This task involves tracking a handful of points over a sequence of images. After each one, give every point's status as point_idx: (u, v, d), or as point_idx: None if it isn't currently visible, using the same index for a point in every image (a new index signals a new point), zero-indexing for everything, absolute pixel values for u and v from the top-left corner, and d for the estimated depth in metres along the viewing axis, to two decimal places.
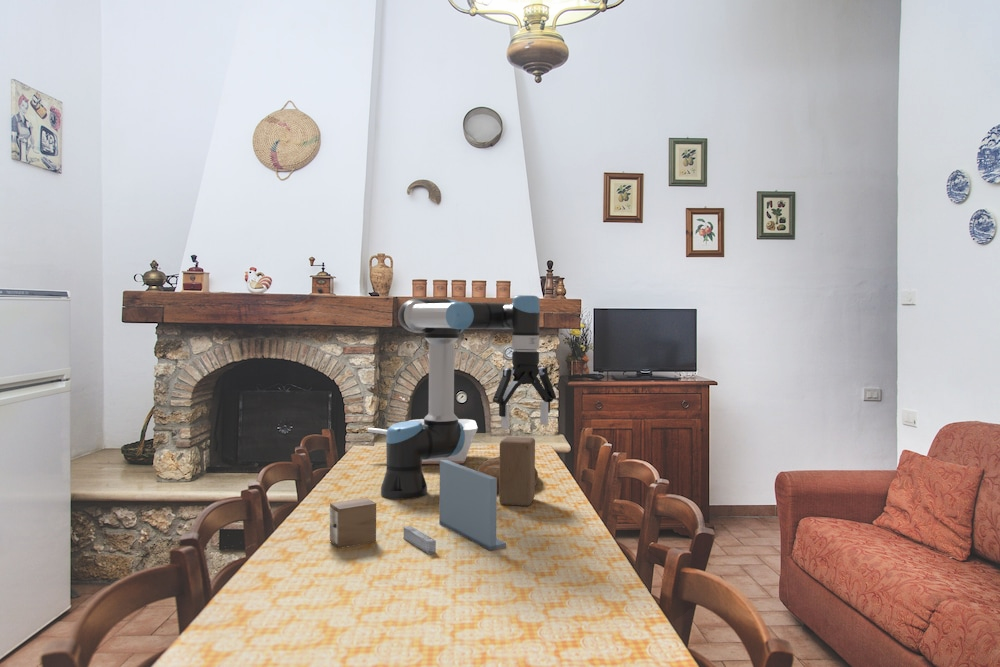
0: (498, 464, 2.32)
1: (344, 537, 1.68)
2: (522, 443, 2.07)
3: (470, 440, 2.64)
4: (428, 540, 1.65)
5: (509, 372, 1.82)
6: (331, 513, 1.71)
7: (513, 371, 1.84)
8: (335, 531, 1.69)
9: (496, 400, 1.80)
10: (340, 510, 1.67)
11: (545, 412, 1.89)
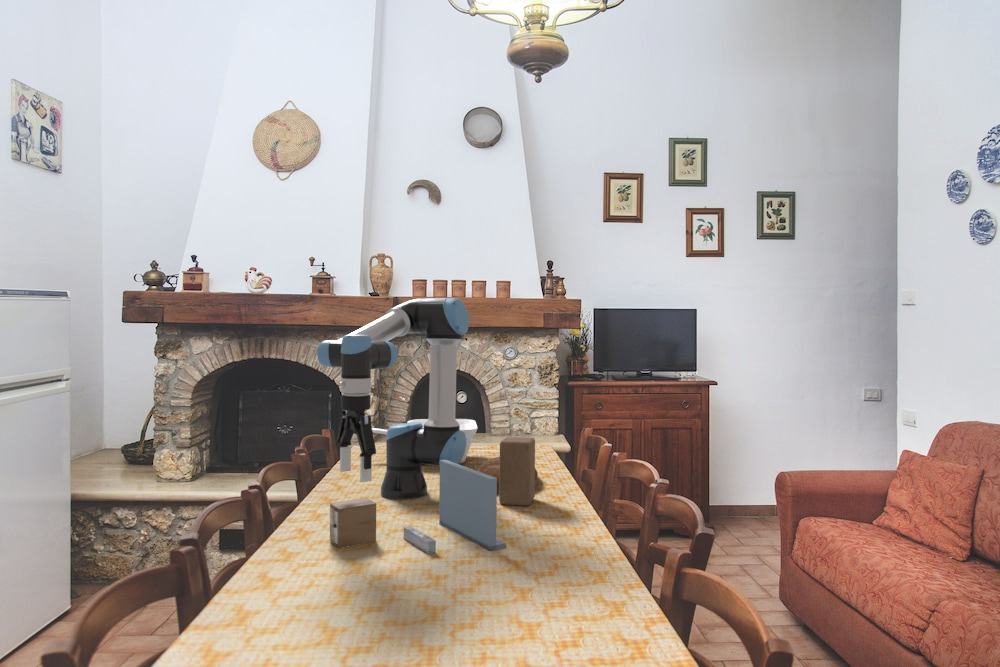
0: (498, 464, 2.32)
1: (344, 537, 1.68)
2: (522, 443, 2.07)
3: (470, 440, 2.64)
4: (428, 540, 1.65)
5: (341, 414, 1.77)
6: (331, 513, 1.71)
7: None
8: (335, 531, 1.69)
9: None
10: (340, 510, 1.67)
11: None
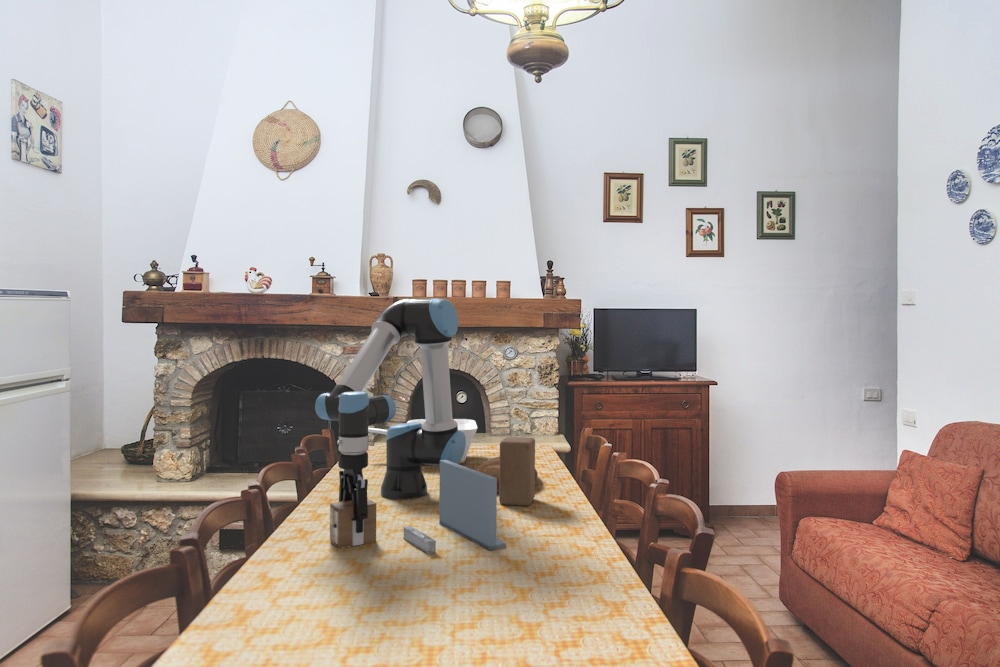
0: (498, 464, 2.32)
1: (345, 537, 1.68)
2: (522, 443, 2.07)
3: (470, 440, 2.64)
4: (428, 540, 1.65)
5: (339, 474, 1.77)
6: (331, 513, 1.71)
7: None
8: (335, 531, 1.69)
9: None
10: (340, 510, 1.67)
11: None
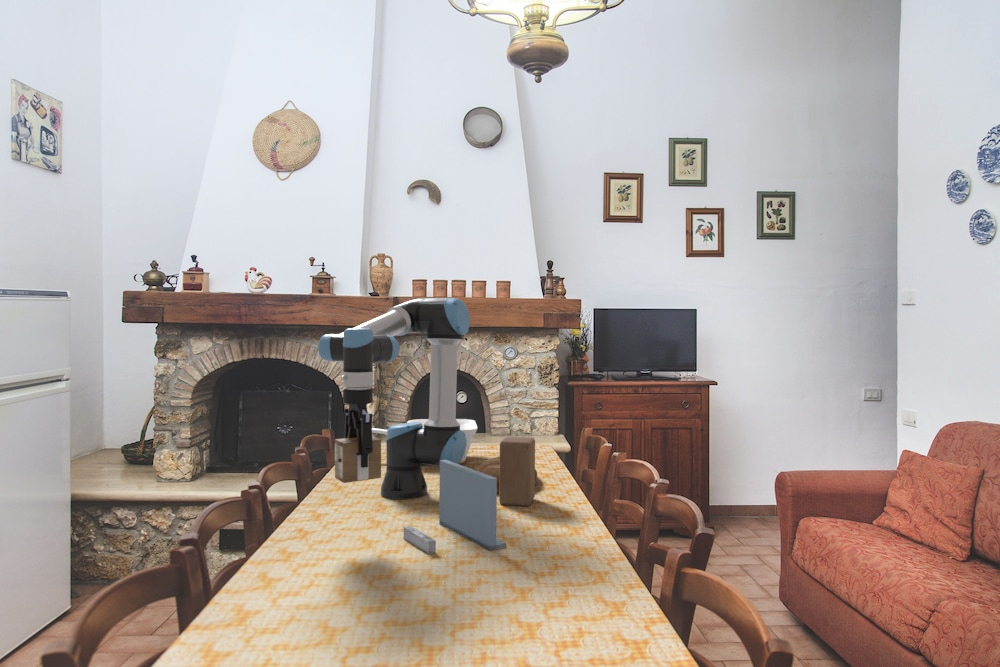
0: (497, 464, 2.32)
1: (349, 471, 1.68)
2: (522, 443, 2.07)
3: (470, 440, 2.64)
4: (428, 540, 1.65)
5: (344, 412, 1.77)
6: (336, 449, 1.71)
7: (349, 409, 1.76)
8: (340, 466, 1.68)
9: None
10: (344, 444, 1.67)
11: None
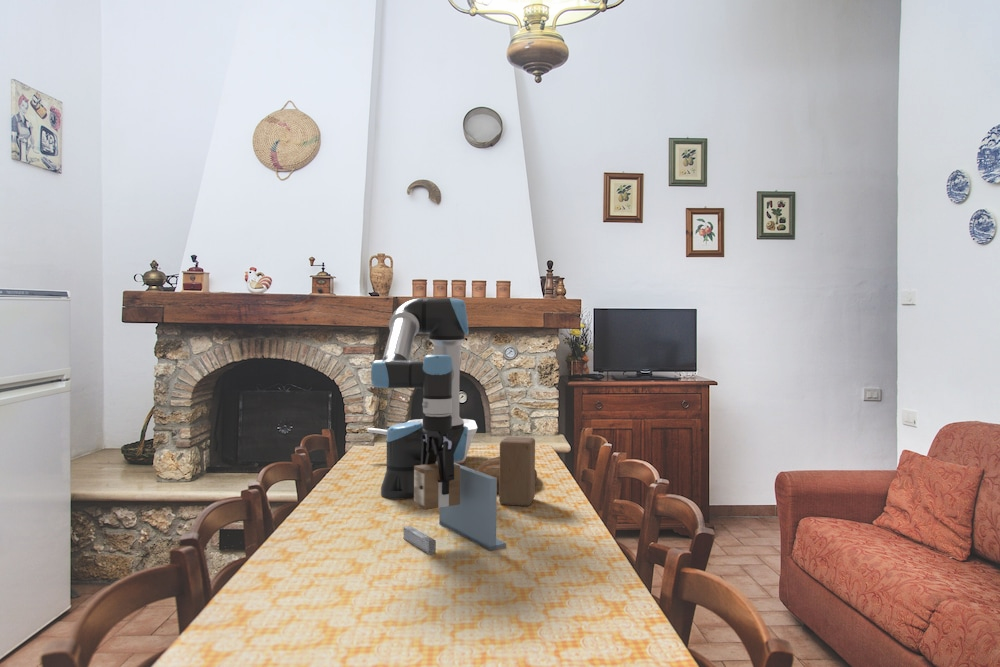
0: (497, 464, 2.32)
1: (431, 498, 1.68)
2: (522, 443, 2.07)
3: (470, 440, 2.64)
4: (428, 540, 1.65)
5: (421, 438, 1.77)
6: (416, 475, 1.71)
7: (427, 436, 1.76)
8: (421, 493, 1.68)
9: None
10: (426, 471, 1.67)
11: None
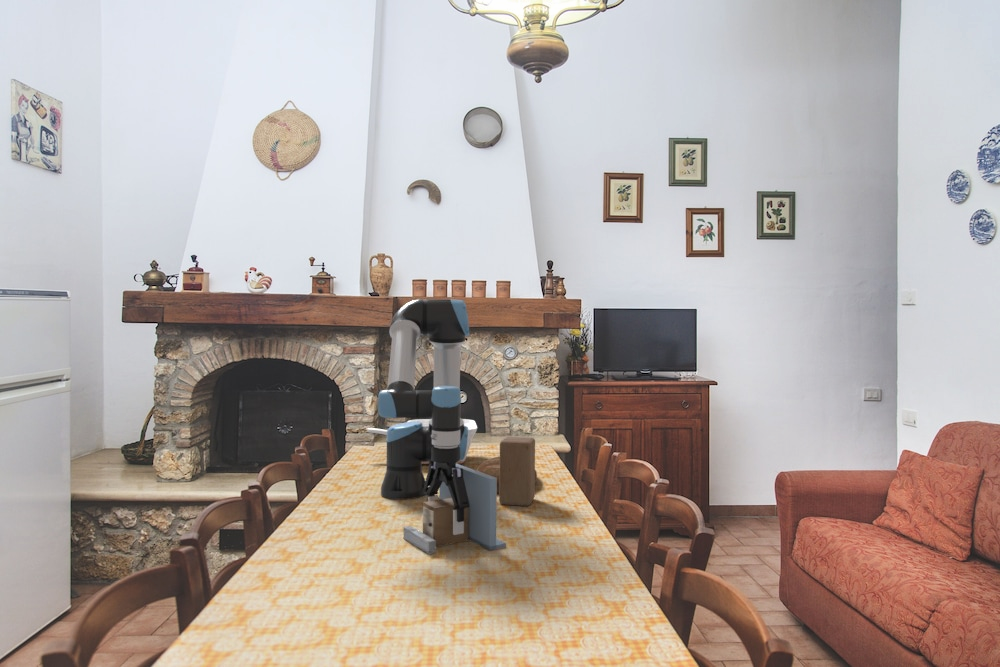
0: (497, 464, 2.32)
1: (440, 535, 1.70)
2: (522, 443, 2.07)
3: (470, 440, 2.64)
4: (428, 540, 1.65)
5: (429, 463, 1.79)
6: (425, 512, 1.73)
7: None
8: (430, 530, 1.70)
9: None
10: (435, 509, 1.69)
11: None
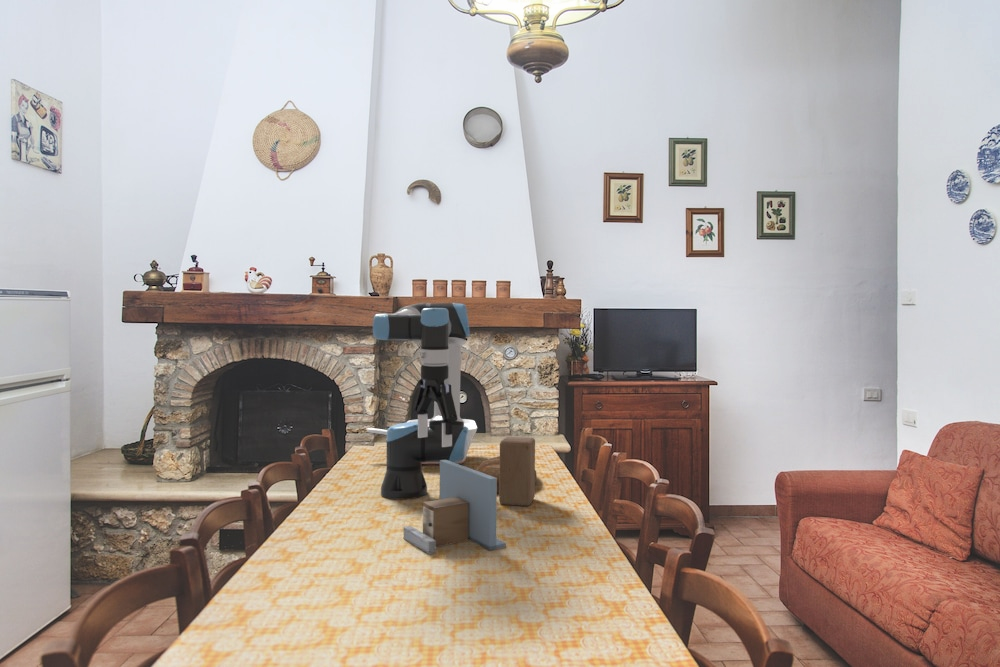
0: (497, 464, 2.32)
1: (440, 535, 1.70)
2: (522, 443, 2.07)
3: (470, 440, 2.64)
4: (428, 540, 1.65)
5: (419, 383, 1.86)
6: (425, 512, 1.73)
7: (425, 383, 1.85)
8: (430, 530, 1.70)
9: None
10: (435, 509, 1.69)
11: None
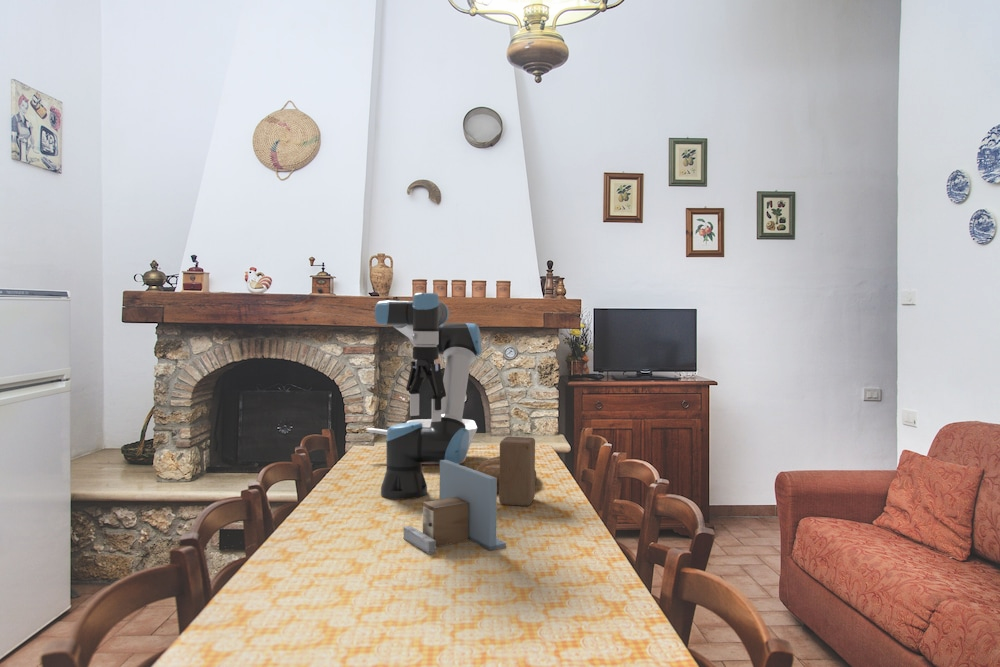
0: (496, 464, 2.33)
1: (440, 535, 1.70)
2: (522, 443, 2.07)
3: (470, 440, 2.64)
4: (428, 540, 1.65)
5: (411, 364, 1.99)
6: (425, 512, 1.73)
7: (417, 364, 1.98)
8: (430, 530, 1.70)
9: None
10: (435, 509, 1.69)
11: None
